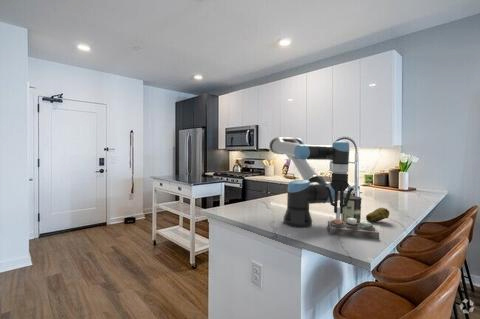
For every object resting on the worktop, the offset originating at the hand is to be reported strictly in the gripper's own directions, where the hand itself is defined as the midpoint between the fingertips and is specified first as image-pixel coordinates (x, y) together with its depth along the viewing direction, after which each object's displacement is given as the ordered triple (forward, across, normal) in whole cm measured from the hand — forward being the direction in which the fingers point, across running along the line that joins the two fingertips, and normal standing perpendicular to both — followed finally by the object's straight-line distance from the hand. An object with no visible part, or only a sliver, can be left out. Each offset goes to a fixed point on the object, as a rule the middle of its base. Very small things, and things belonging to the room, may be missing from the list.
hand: (337, 219), depth 119 cm
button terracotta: (+2, 0, 0) cm, 2 cm away
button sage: (+2, +13, 0) cm, 13 cm away
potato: (+6, +24, +24) cm, 35 cm away
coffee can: (+6, +10, +19) cm, 22 cm away
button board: (+6, +6, 0) cm, 9 cm away
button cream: (+1, +6, 0) cm, 7 cm away
